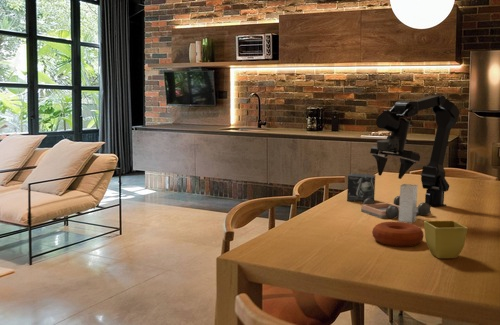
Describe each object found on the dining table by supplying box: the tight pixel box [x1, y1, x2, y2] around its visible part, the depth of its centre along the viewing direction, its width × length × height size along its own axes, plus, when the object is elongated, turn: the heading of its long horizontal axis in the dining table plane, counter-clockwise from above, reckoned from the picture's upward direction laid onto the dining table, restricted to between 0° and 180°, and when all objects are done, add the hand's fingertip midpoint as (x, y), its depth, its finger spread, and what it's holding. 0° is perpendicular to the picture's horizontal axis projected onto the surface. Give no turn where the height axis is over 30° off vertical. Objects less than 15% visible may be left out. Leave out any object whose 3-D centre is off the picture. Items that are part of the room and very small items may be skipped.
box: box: [346, 173, 376, 203], centre depth 230 cm, size 11×7×10 cm, turn 74°
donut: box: [371, 221, 425, 248], centre depth 170 cm, size 15×15×5 cm
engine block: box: [398, 183, 419, 224], centre depth 195 cm, size 4×4×12 cm
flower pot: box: [423, 220, 468, 259], centre depth 155 cm, size 9×9×9 cm
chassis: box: [360, 195, 432, 220], centre depth 209 cm, size 22×15×4 cm
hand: (389, 177), depth 206 cm, fingers open, 9 cm apart
